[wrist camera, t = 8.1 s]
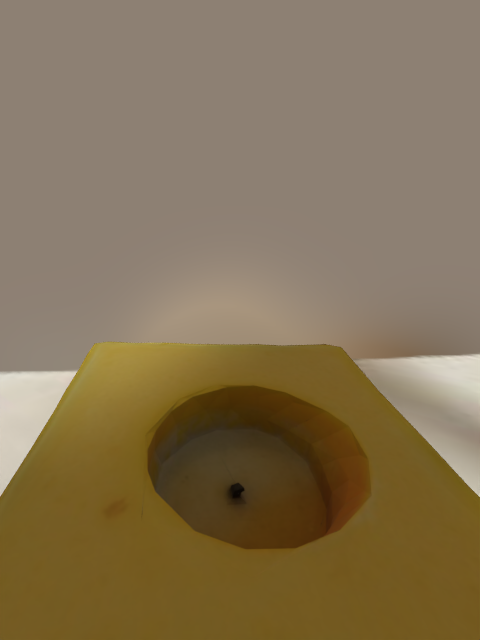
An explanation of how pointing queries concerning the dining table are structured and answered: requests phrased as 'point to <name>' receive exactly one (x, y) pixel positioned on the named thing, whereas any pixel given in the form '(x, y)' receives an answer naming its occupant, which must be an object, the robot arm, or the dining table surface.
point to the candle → (234, 506)
